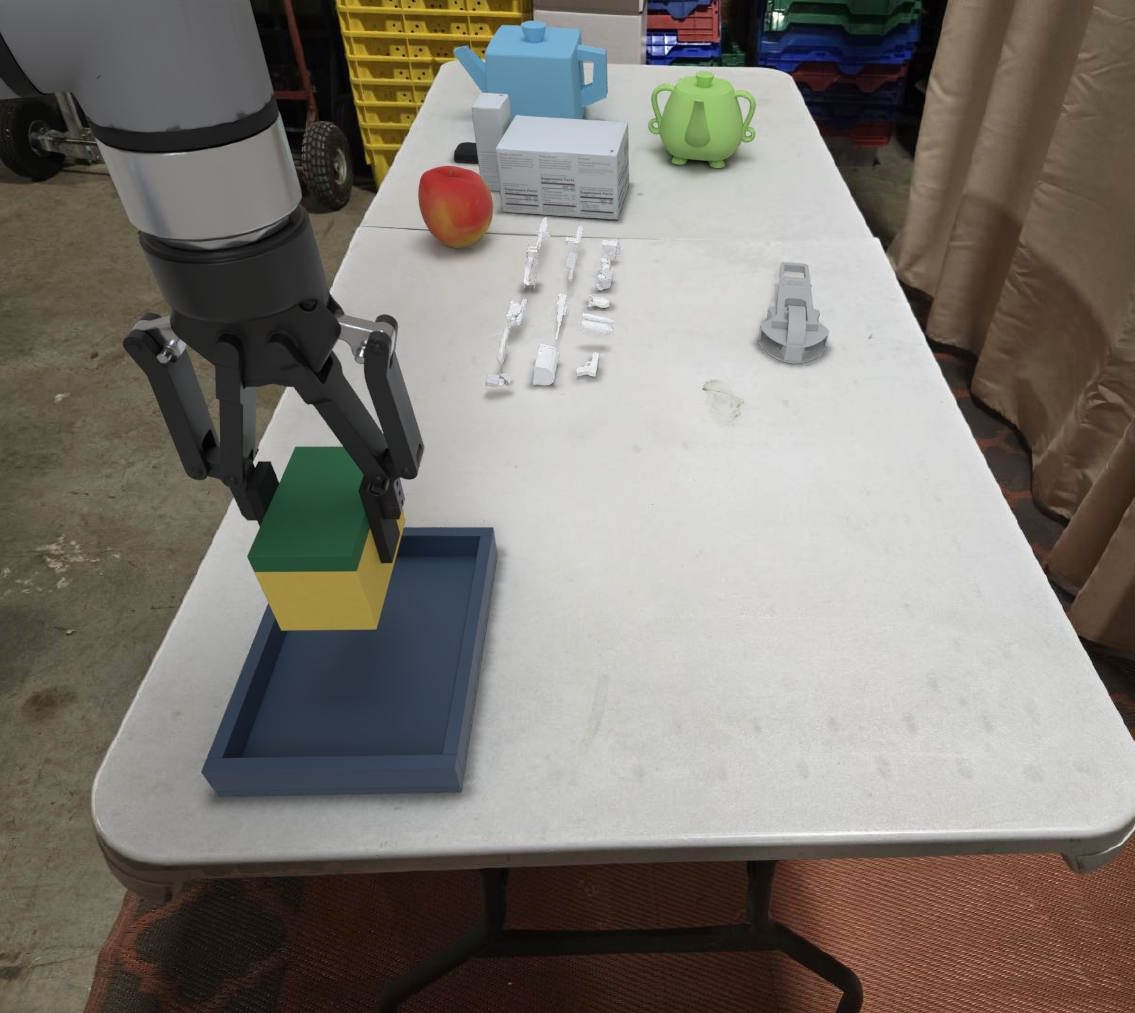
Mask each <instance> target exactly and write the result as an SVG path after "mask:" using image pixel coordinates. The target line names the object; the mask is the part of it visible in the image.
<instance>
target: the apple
mask: <svg viewBox="0 0 1135 1013" xmlns="http://www.w3.org/2000/svg"><path fill="white" fill-rule="evenodd" d="M420 176H421V177H420V179H419V183H418V192H417V196H418V197H417V198H418V206H419V210H420V214H421V218H422V220H423V222H424V224H425V227H426V228H427V230H428V231H429V233H431V235H432V236H433V237H434V238H435V239H436V240H437V241H439V242H440V243H441V244H443V245H445V246H447V247H449V248H452V249H466V248H468V247H470V246H472V245H474V244H475V243H477V242H479V241H480V240H481V239H482V238H483V237H484V236H485V235H486V233H487V232H488V230H489V229H490V227H491V224H492V220H493V214H494V200H493V195H492V191H490V190H489V188H488V186H487V184H486V183H485V181H484V180H483V179H482V177H481V176H480V174H478V173H477V172H476V171H474V170H472V169H469V168H464V167H460V166H457V165H441V166H436V167H433V168H430V169H428V170H426V171H425V172H423V173H422V175H420Z"/></svg>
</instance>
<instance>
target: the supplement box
mask: <svg viewBox="0 0 1135 1013" xmlns="http://www.w3.org/2000/svg"><path fill="white" fill-rule="evenodd" d="M629 144H630V142H629V121H615V120H614V121H612V120H596V119H584V118H583V119H566V118H550V117H534V116H521V115H516V116H515V118H514V119H513V121H512V123H511V124H510V126H509V128H508V129H507V131H506V132H505V134H504V136H503V137H502V139H501V140H500V142H499V144H498V145H497V147H496V148H495V152H496V161H497V169H498V178H499V187H500V191H499V195H500V206H501V212H503V213H514V214H529V215H543V216H544V215H545V216H555V217H556V216H559V217H571V218H573V217H574V218H575V217H576V218H589V219H600V220H601V219H602V220H619V217H620V214H621V212H622V207H623V204H624V201H625V198H626V194H627V192H628V189H629V185H630V151H629V150H630V148H629V146H630V145H629Z"/></svg>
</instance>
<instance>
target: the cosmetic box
mask: <svg viewBox="0 0 1135 1013" xmlns="http://www.w3.org/2000/svg"><path fill="white" fill-rule="evenodd" d="M471 114H472V122H473V123H472V124H473V131H474V138H475V143H476V147H477V155H478V162H479V163H478V169H479V175H480V176H481V177H482V179H483V180H484V181H485V183H486V184H487V186H488V188H489V190H490V192H500V187H499V178H498V169H497V161H496V152H495V148H496V147H497V145H498V144H499V142H500V140H501V139H502V137H503V136H504V134H505V132H506V131H507V129H508V128H509V126H510V124H511V114H510V103H509V96H508V94H495V93H482V92H480V93H479V95H478V96H477V98H476V99H475V101H474V103H473V104H472V106H471Z"/></svg>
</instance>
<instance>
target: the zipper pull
mask: <svg viewBox="0 0 1135 1013" xmlns="http://www.w3.org/2000/svg"><path fill="white" fill-rule="evenodd" d="M785 272H786V273H787V272H789V273H799V274H803V277H796V276H786V275H785ZM778 275H779V276H778V286H777V288H778V289H777V302H776V305H769V306H768V309H767V316H766V320H765V321H763V322H761V323H760V327H759V335H758V340H757V341H758V345H759V346H760V348H761V349H762V350H764V352H765V353H766V354H767V355H769V356H771V357H772V358H774V359H776V360H778V361H781V362H784V363H787V364H792V365H796V364H804V363H808V362H811V361H813V360H815V359H817V358H819V357H820V356H821V355H822V354H824V352H825V350H826V348H827V344H828V340H829V334H830V329H829V328H828V327H826V326H825V325H823V324H821V323H819V319H820V315H821V311H820V309H815V308H814V300H813V292H812V285H811V284H812V283H811V276H810V268H809V264H808V263H803V262H802V263H800V262H788V261H781V262H780V266H779V274H778Z"/></svg>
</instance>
